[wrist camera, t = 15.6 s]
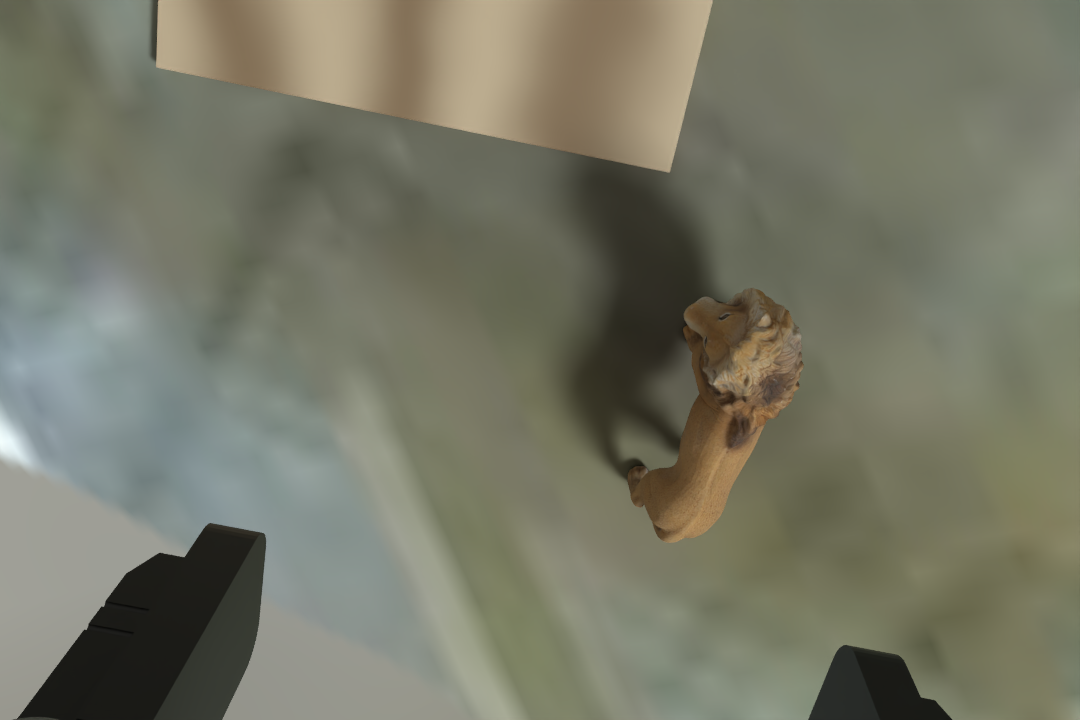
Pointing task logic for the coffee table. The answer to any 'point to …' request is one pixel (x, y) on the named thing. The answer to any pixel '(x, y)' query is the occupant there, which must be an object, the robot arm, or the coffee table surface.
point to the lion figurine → (722, 408)
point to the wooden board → (464, 63)
